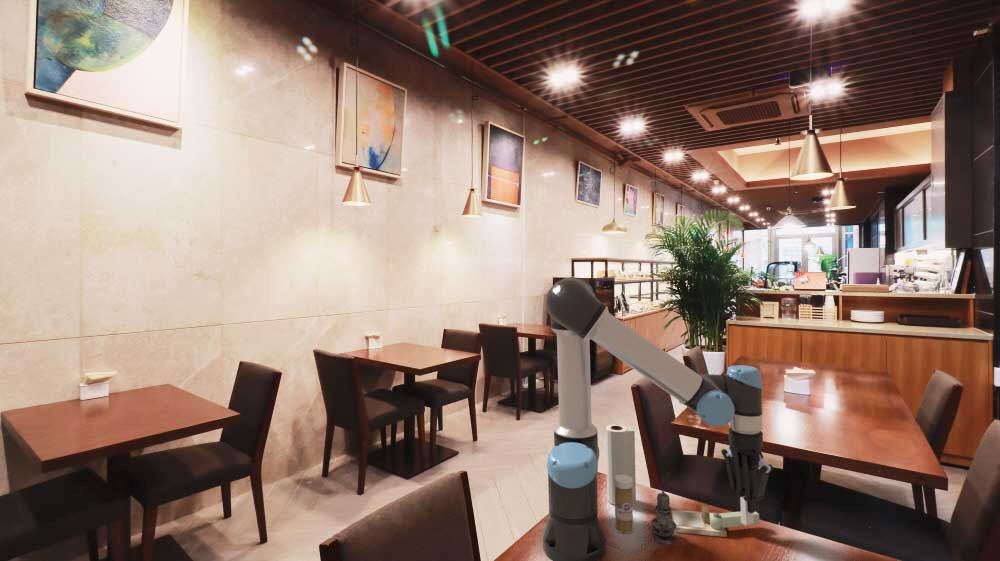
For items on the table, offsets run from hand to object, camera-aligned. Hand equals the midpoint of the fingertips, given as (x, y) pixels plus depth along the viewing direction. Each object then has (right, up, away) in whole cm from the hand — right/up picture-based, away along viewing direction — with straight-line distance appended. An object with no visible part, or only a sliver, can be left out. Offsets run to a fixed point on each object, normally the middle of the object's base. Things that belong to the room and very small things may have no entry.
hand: (747, 522), depth 117 cm
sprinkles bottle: (-30, -4, +4) cm, 30 cm away
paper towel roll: (-27, -3, +17) cm, 33 cm away
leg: (-2, -1, +2) cm, 3 cm away
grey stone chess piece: (-21, -4, -1) cm, 21 cm away
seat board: (-10, -3, +5) cm, 12 cm away
